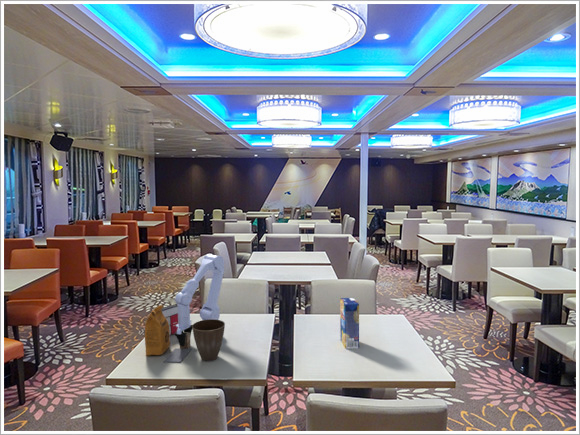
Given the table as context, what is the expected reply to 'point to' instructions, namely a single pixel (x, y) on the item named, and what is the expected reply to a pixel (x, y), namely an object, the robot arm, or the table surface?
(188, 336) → the walnut block
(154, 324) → the coffee package
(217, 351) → the plant pot
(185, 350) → the rubber mat
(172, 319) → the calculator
